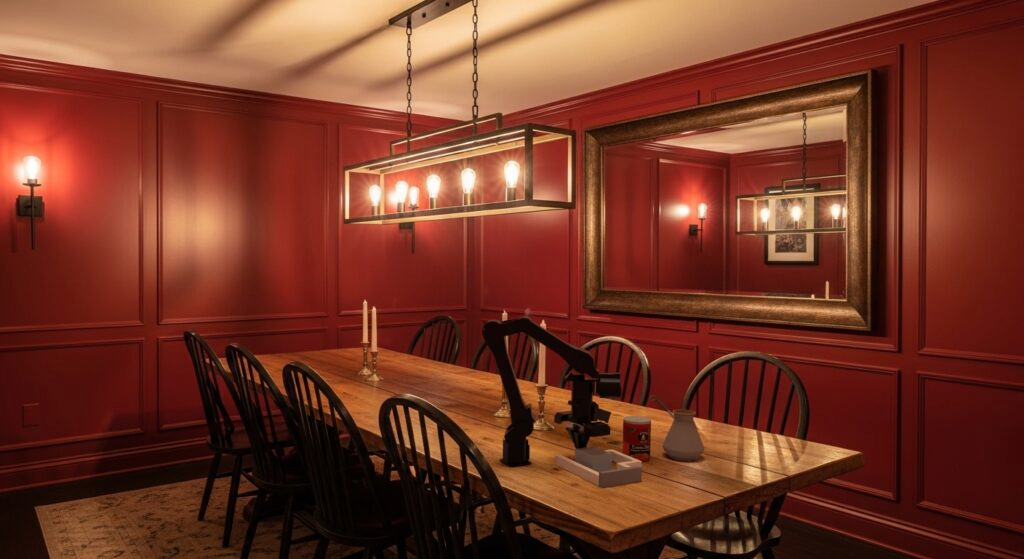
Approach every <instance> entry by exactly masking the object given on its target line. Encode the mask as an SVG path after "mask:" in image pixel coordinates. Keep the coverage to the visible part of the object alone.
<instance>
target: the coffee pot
mask: <svg viewBox="0 0 1024 559" xmlns="http://www.w3.org/2000/svg"><path fill="white" fill-rule="evenodd" d="M651 398H652V399H651ZM649 400H650V401H651V402H652V401H655V402H657V404H658V405H659V406H660V407H661V408H662V409H663V410H664V411H665V412H666V413H668V415H670V417H671V418H672V419H673V421H672V423H671V425H670V428H669V430H668V433H667V434H666V436H665V438H664V441H663V443H662V449H663V451H664V452H665V454H667V455H668V456H669V458H671V459H673V460H677V461H684V462H685V461H690V462H691V461H696V460H697V459H698V458H699V457H701V455H702V454H704V451H705V445H704V443H703V441H702V438H701V436H700V433H699V431H698V428H697V425H696V423H695V421H694V418H695V415H696V414H697V413H696V411H695V410H692V409H674V410H672V411H671V410H670V409H669V408H668V406H666V404H665V403H664V402H663V401H661V400H660V398H659V397H657V395H654V394H651V396H650V397H649Z"/></svg>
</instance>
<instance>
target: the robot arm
mask: <svg viewBox="0 0 1024 559" xmlns="http://www.w3.org/2000/svg"><path fill="white" fill-rule="evenodd" d="M520 333H524V334H526V335H527V336H528V337H530V338H532V339H534V340H535V341H537V342H538V343H539V344H542V345H543V346H544V347H546V348H547V349H549V350H551V351H552V352H554V353H555V354H557V355H559V356H560V357H561V359H563V360H564V361H565V363H567V364H568V366H570V367H571V368H572V369H573V370H574V371H575V372H577V373H574V372H573V371H572V370H571V371H569V373H568V374H567V375H565V376H564V381H566V382H571V388H570V389H571V392H570V393H571V394H570V395H571V396H570V399H568V400H567V404H568V405H569V406H570V410H565V411H557V412H556V413H555V414H554V415H553V416H554V417H553V419H554V420H553V423H555V424H558V425H562V423H563V422H567V427H565V431H567V433H568V435H569V437H570V439H571V441H572V443H573V447H574V448H575V449H579V448H585V447H587V445H588V443H589V440H590V438H599V437H606V436H610V435H611V427H612V426H610V425H609V423H610V422H609V421H610V418H611V414H612V412H611V411H609V410H605V409H602V408H600V407H599V404H598V403H597V402H596V401H594V400H593V397H594V394H593V393H595V395H597V396H598V397H599V399H621V398H622V383H621V373H620V372H611V373H610V372H600V370H599V368H597V367H596V366H595V365H594V364H595V362H594V361H595V360H594V357H593V355H592V354H591V352H590V351H589V350H586V349H584V348H582V347H579V346H577V345H574V344H571V343H569V342H566V341H564V339H562V338H560V337H558V336H556V334H554V333H553V332H550V331H549V330H547V329H546V328H545V327H543V326H541V325H539V324H538V323H536V322H535V321H533V320H532V319H531V318H530V317H529V316H525V315H523V316H521V317H516V318H512V319H506V320H499V319H496V318H493V319H490V320H488V321H486V323H485V324H484V325H483V326H482V329H481V335H482V337H483V340H484V342H485V343H486V346H487V347H488V348H489V350H490V352H491V353H492V355H493V357H494V361H495V364H496V366H497V369H498V373H499V376H500V378H501V382H502V385H503V388H504V392H505V394H506V395H505V396H506V397H507V401H508V404H509V414H510V422H511V423H510V424H509V425H508V426H507V427H506V429H505V431H504V435H503V438H504V439H502V458H500V459H499V461H500V462H501V463H503V464H505V465H507V466H508V467H517V466H524V465H525V466H526V465H531V464H532V461H530V460H531V459H530V458H531V456H530V455H531V454H530V453H531V452H530V451H531V450H530V449H531V445H530V444H529V439H527V437H530V436H531V435H532V433H533V431H534V428H535V423H536V419H537V417H536V415H535V413H534V412H533V406H532V403H530V402H529V403H528V404H527V403H526V401H525V400H524V398H523V395H522V392H521V388H520V386H519V383H518V379H517V376H516V374H515V370H514V367H513V364H512V361H511V360H512V359H511V358H510V354H509V351H508V346H507V345H508V342H507V337H509V336H512V335H515V334H520ZM585 374H586V375H588V376H589V377H586V376H585ZM594 386H595V387H594Z"/></svg>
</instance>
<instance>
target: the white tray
mask: <svg viewBox="0 0 1024 559" xmlns="http://www.w3.org/2000/svg"><path fill="white" fill-rule="evenodd" d="M603 450H604V449H603ZM604 451H607V452H609V453H612V462H614V463H616V466H615V467H616V468H614V469H613V468H612V470H607V471H601V472H599V473H598V472H596V471H594V470H592V469H590V468H588V467H586V466H584V465H581V464H579V463H577V462H575V460H572V459H571V458H569V457H566V456H564V455H561V454H556V455H555V465H556V467H557V466H558V467H560V468H562V469H564V470H566V471H568V472H569V473H572V474H574V475H575V476H577V477H580V478H582V479H584V480H586V481H588V482H590V483H592V484H593V485H596V486H598V487H600V488H602V489H603V488H609V487H614V486H615V487H616V486H621V485H622V486H623V485H627V484H632V483H638V482H639V483H640V482H643V481H642V480H643V479H642V478H643V477H642V476H643V465H642V462H643V461H640V460H637V459H635V458H632V457H630V456H627V455H625V454H623V452H620V451H617V450H615V449H612V448H611V449H605V450H604Z"/></svg>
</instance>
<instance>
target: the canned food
mask: <svg viewBox="0 0 1024 559" xmlns="http://www.w3.org/2000/svg"><path fill="white" fill-rule="evenodd" d="M622 421H623V422H622V454H625V455H627V456H630V457H632V458H635V459H637V460H640V461H642V462H646V461H649V460H650V457H651V444H652V443H651V442H652V440H651V439H652V438H651V436H652V419H651V418H649V417H647V416H642V415H640V416H639V415H626V416H624V417H623V420H622Z"/></svg>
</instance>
